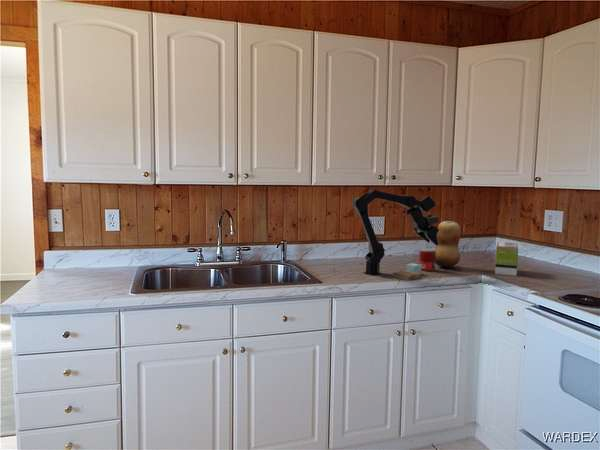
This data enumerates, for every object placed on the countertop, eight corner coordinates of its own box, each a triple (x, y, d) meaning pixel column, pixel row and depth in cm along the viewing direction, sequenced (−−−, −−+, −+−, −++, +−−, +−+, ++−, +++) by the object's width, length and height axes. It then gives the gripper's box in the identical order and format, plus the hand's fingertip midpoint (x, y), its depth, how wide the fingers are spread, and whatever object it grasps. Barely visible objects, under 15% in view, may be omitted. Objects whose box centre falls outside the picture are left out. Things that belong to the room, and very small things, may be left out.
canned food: (435, 272, 211) (436, 250, 210) (419, 271, 213) (420, 250, 212) (433, 268, 219) (434, 248, 218) (418, 268, 220) (419, 247, 219)
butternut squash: (445, 271, 213) (447, 223, 211) (427, 266, 226) (429, 220, 223) (465, 268, 219) (467, 222, 216) (447, 264, 231) (449, 219, 229)
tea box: (495, 268, 221) (496, 241, 220) (516, 270, 217) (517, 242, 215) (494, 274, 208) (496, 245, 206) (516, 276, 203) (518, 246, 202)
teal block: (414, 276, 202) (414, 266, 202) (406, 274, 206) (406, 264, 206) (420, 274, 205) (421, 264, 205) (412, 272, 209) (412, 263, 209)
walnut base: (408, 280, 193) (408, 276, 193) (393, 276, 200) (393, 272, 200) (420, 277, 198) (420, 273, 198) (405, 274, 205) (405, 270, 205)
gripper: (440, 210, 197) (455, 237, 200) (423, 207, 216) (437, 232, 218) (420, 222, 197) (436, 249, 199) (406, 219, 215) (420, 244, 218)
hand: (433, 243), depth 209 cm, fingers open, 9 cm apart
